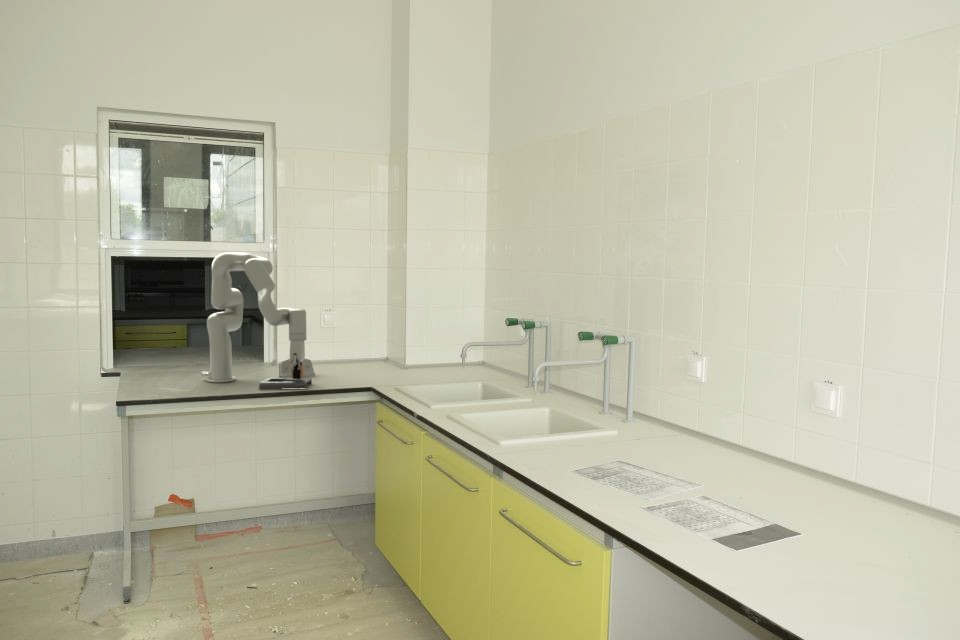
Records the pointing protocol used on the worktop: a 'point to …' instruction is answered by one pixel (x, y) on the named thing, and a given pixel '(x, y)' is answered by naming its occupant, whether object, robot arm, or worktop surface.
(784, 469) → the worktop surface
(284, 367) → the grey arched block
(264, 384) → the keyhole plate
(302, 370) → the t peg
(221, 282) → the robot arm
